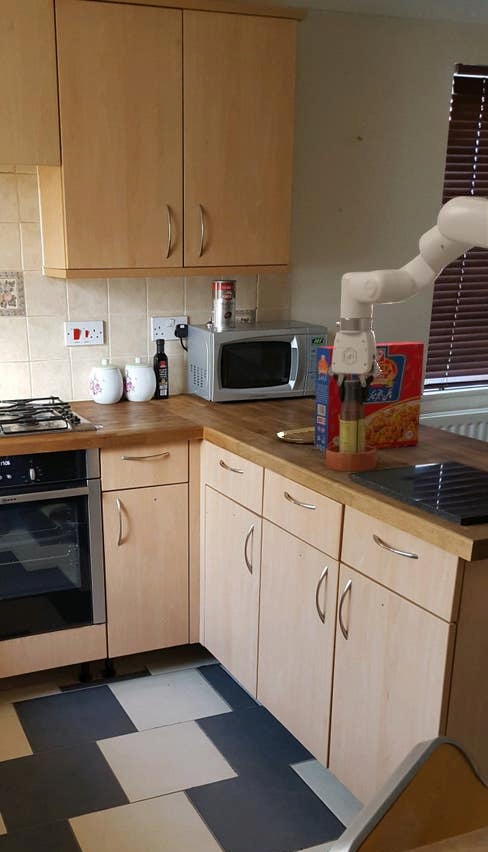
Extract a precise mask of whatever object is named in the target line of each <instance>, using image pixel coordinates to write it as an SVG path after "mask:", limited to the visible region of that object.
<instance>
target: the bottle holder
mask: <svg viewBox="0 0 488 852" xmlns="http://www.w3.org/2000/svg"><path fill="white" fill-rule="evenodd" d="M377 453H378V449H376V448H375V447H372V446H367V445H365V452H363V453H341V452H340V445H334V446H329V447H327V448H326V450H325V453H324V466H325V467H324V468H326V469H329V470H331V471H336V472H337V471H338V472H365V471H366V472H367V471H371V470H374V469H375V468H377V458H378V457H377V455H378V454H377Z"/></svg>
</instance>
